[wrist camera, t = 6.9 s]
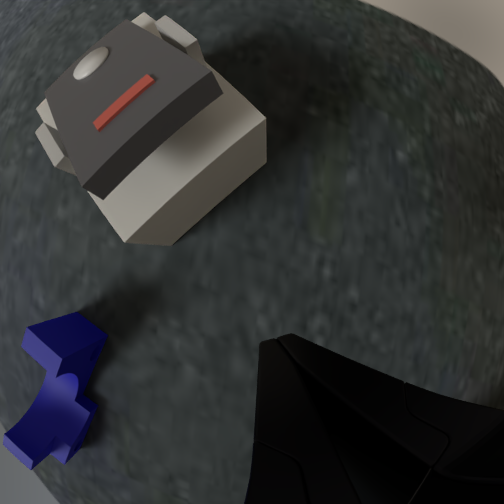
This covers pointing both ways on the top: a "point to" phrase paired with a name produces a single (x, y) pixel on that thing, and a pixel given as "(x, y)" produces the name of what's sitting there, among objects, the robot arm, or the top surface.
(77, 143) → the rocker
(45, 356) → the blue notched block
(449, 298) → the top surface
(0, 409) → the top surface
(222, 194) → the switch box
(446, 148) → the top surface
